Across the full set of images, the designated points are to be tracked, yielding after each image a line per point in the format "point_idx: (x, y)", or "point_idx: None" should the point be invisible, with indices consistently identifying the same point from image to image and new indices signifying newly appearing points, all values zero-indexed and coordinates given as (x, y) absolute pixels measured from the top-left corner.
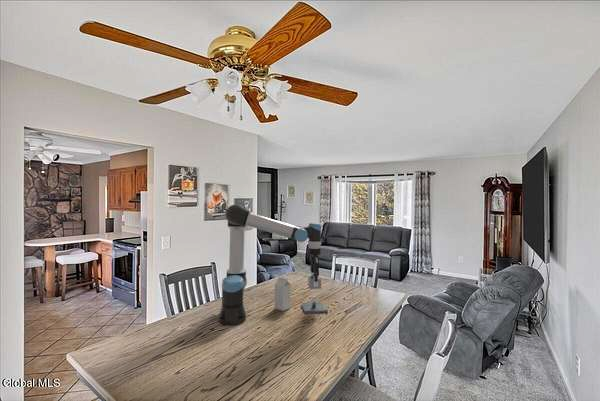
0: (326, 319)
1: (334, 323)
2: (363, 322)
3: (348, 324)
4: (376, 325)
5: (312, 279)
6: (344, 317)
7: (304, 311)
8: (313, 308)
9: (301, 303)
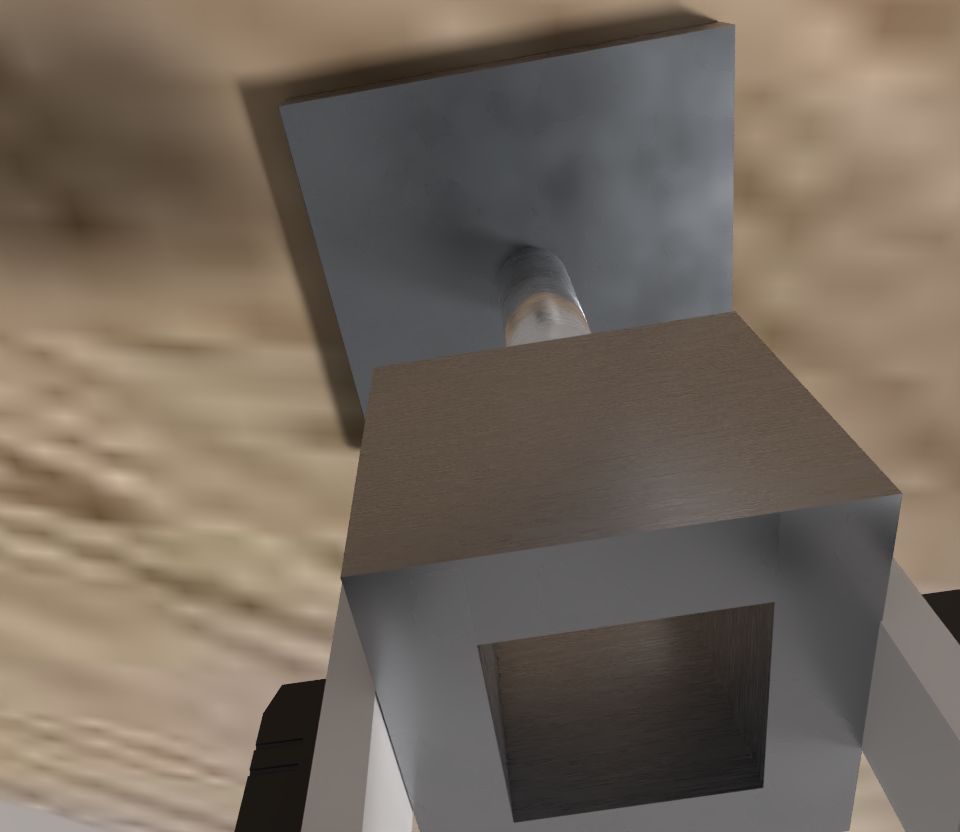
0: (125, 421)
1: (22, 503)
2: (146, 748)
3: (46, 631)
4: (105, 820)
5: (366, 653)
6: (243, 614)
7: (340, 91)
8: (424, 268)
9: (695, 32)
